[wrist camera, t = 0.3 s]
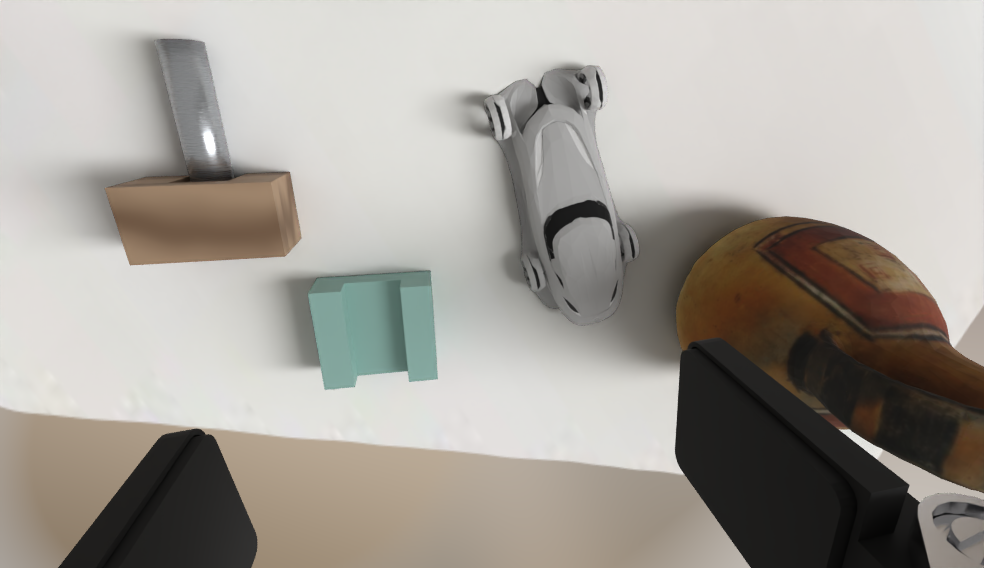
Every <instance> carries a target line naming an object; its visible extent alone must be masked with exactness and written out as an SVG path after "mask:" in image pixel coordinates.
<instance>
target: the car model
mask: <svg viewBox="0 0 984 568" xmlns="http://www.w3.org/2000/svg"><path fill="white" fill-rule="evenodd" d="M607 100H608V88H607V82H606V78H605V75H604V73H603V71H602V69H601V68H600V67H599V66H592V65H588V66H586V67H584V68H583V69H581V70H564V69H554V70H551V71H549V72H546V73H544V77H543V80H542V84H541V87H540V88H536V87H535V86H534V85H533V84H532V83H531V82H530V81H528V80H527V79H523V80H519V81H515V82H514V83H512V84H511V85H510V86H508V87H507V88H506V89H504V90H503V91H502V92H501V93H499V94H498V95H491V97H490V96H489V97H488V98H486V99H485V101H484V104H485V110H486V113H487V115H488V118H489V121H490V129H491V132H492V135H493V137H494V138H495V139H496V140H497V141H498V143H499V144H500V146H501V148H502V150H503V152H504V154H505V156H506V159H507V162H508V165H509V168H510V171H511V175H512V180H513V184H514V189H515V194H516V199H517V205H518V211H519V217H520V222H521V231H522V255H521V263H522V265H523V268H524V274H525V277H526V280H527V283H528V285H529V288H530V290H532V291H535V293H536V294H537V295H538V297H539V298H540V300H541V301H542V302H543V303H544V304H545V305H546V306H548V307H549V308H560V310H561V312H562V313H563V314H564V315H565V316H566V317H567V319H568V320H570V321H571V322H573V323H575V324H577V325H589V324H593V323H597V322H600V321H602V320H604V319H606V318H608V317H610V316H611V315H612V314H613V313H614V312H615V311H616V309H617V307H618V305H619V303H620V300H621V296H622V288H623V278H624V274H625V268H626V264H627V262H630V261H633V260H635V259H636V258H637V257H638V255H639V243H638V239H637V237H636V234H635V232H634V230H633V229H632V228H631V226H630V225H628V224H625V223H624V222H623V221H622V220H621V219H620V218H619V216H618V214H617V211H616V208H615V205H614V202H613V199H612V196H611V192H610V189H609V185H608V182H607V178H606V175H605V171H604V167H603V164H602V161H601V157H600V154H599V150H598V147H597V141H596V135H595V116H596V111H597V110H600V109H602V108H603V107H604V106H605V105H606V103H607ZM545 234H546V235H545Z"/></svg>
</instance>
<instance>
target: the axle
mask: <svg viewBox="0 0 984 568" xmlns="http://www.w3.org/2000/svg"><path fill="white" fill-rule="evenodd" d="M155 45H156V49H157V52H158V56H159V60H160V64H161V68H162V72H163V76H164V80H165V84H166V88H167V91H168V95H169V99H170V103H171V107H172V111H173V115H174V119H175V123H176V127H177V131H178V134H179V138H180V142H181V146H182V150H183V154H184V158H185V162H186V166H187V170H188V173H189V177H190V181H191V182H208V181H229V180H232V179H234V173H233V169H232V164H231V160H230V155H229V151H228V146H227V142H226V137H225V133H224V128H223V124H222V119H221V115H220V110H219V105H218V101H217V96H216V92H215V87H214V83H213V78H212V74H211V69H210V65H209V60H208V56H207V51H206V46H205V43H204V42H201V41H194V40H182V39H159V40H155Z"/></svg>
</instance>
